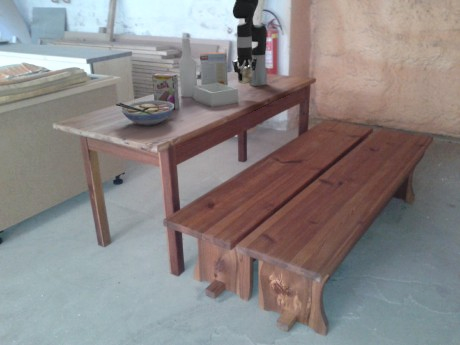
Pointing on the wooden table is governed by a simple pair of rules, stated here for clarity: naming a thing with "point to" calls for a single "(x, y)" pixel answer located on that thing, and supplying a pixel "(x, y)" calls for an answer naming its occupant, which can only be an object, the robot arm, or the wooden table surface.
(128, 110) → the ramen bowl
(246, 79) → the birch block
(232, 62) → the robot arm
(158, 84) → the candy bar box
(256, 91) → the wooden table surface
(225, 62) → the cracker box
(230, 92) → the bin
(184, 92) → the alcohol
